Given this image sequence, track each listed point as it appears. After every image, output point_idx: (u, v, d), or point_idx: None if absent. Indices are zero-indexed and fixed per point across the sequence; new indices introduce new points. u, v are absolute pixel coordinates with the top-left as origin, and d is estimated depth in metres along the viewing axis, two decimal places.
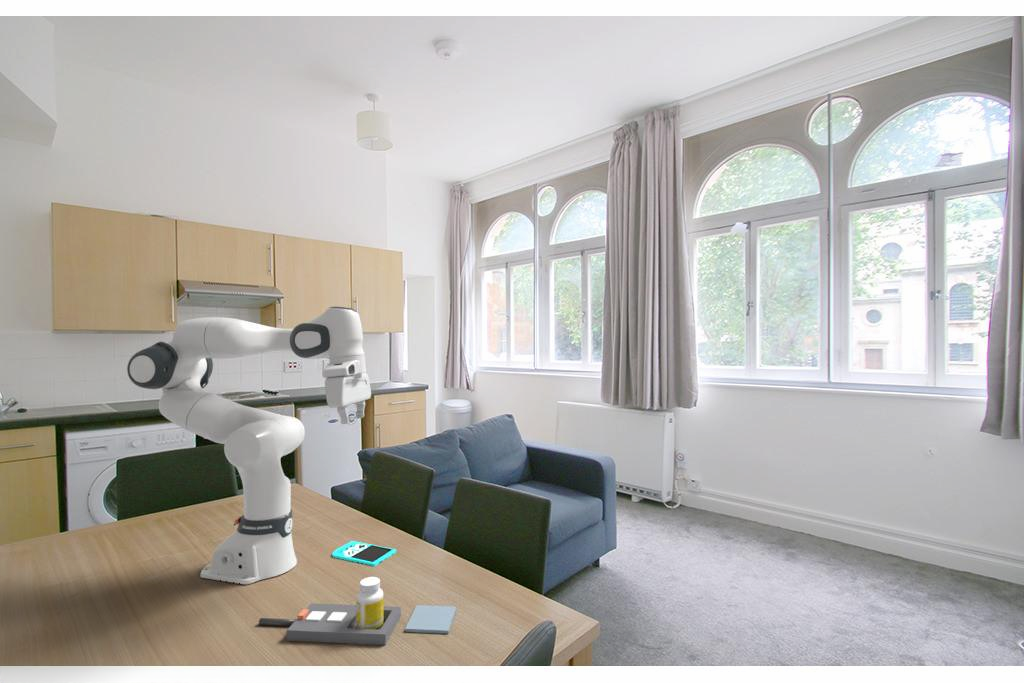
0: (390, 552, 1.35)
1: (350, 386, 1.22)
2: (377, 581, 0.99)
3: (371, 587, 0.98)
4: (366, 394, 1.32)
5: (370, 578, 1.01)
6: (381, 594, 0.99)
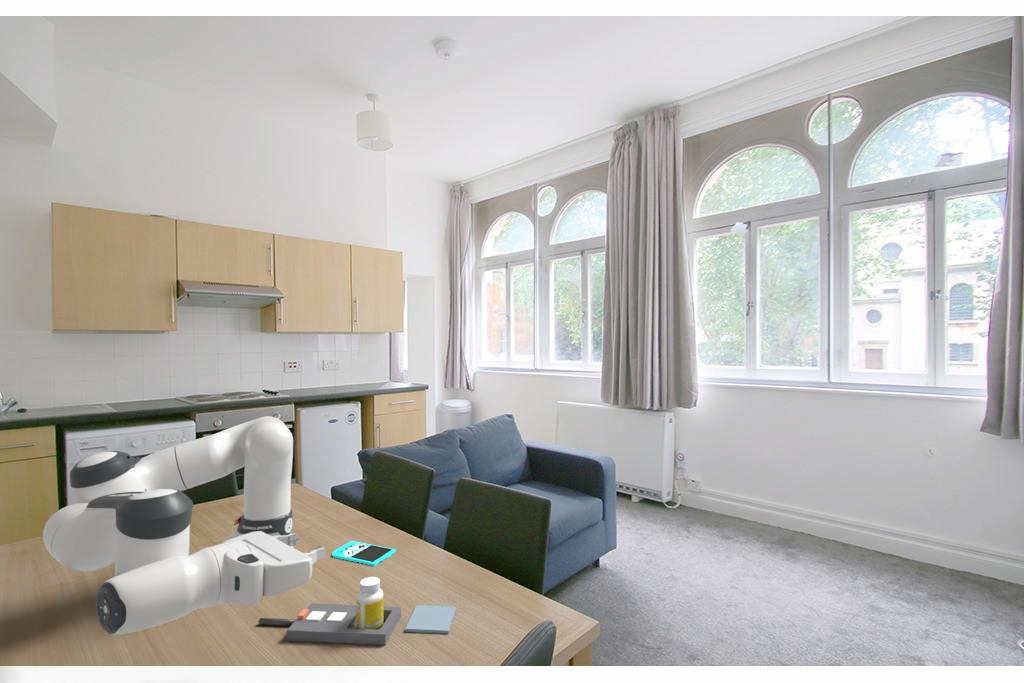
0: (390, 552, 1.35)
1: (269, 557, 0.80)
2: (377, 581, 0.99)
3: (371, 586, 0.98)
4: (261, 535, 0.89)
5: (370, 578, 1.01)
6: (381, 594, 0.99)
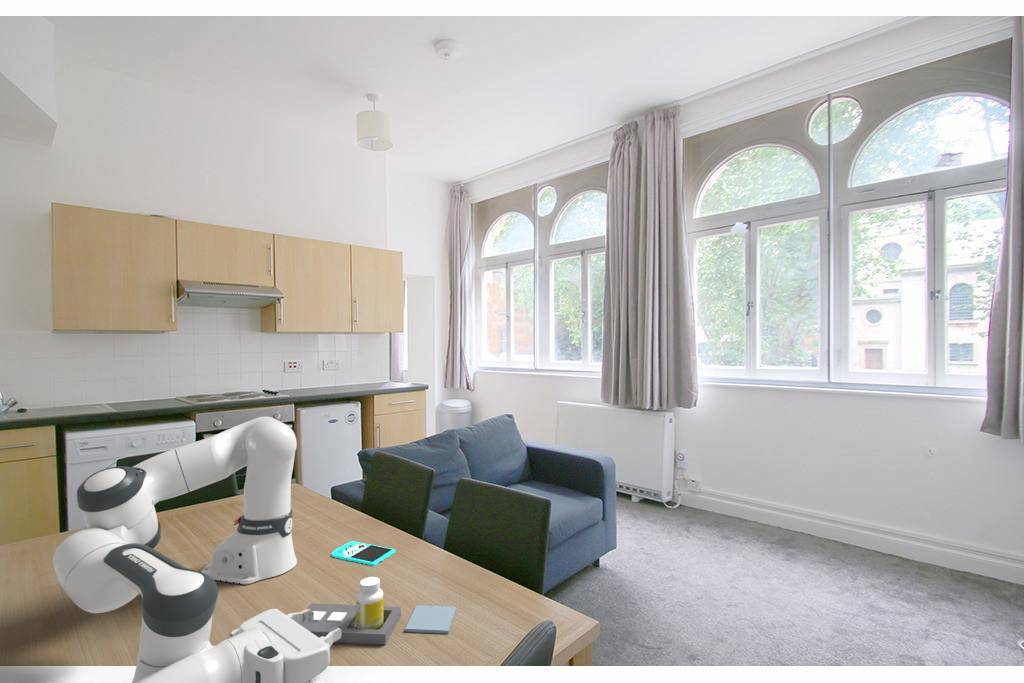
0: (389, 552, 1.35)
1: (287, 644, 0.82)
2: (377, 581, 0.99)
3: (371, 586, 0.98)
4: (277, 615, 0.91)
5: (370, 578, 1.01)
6: (381, 594, 0.99)
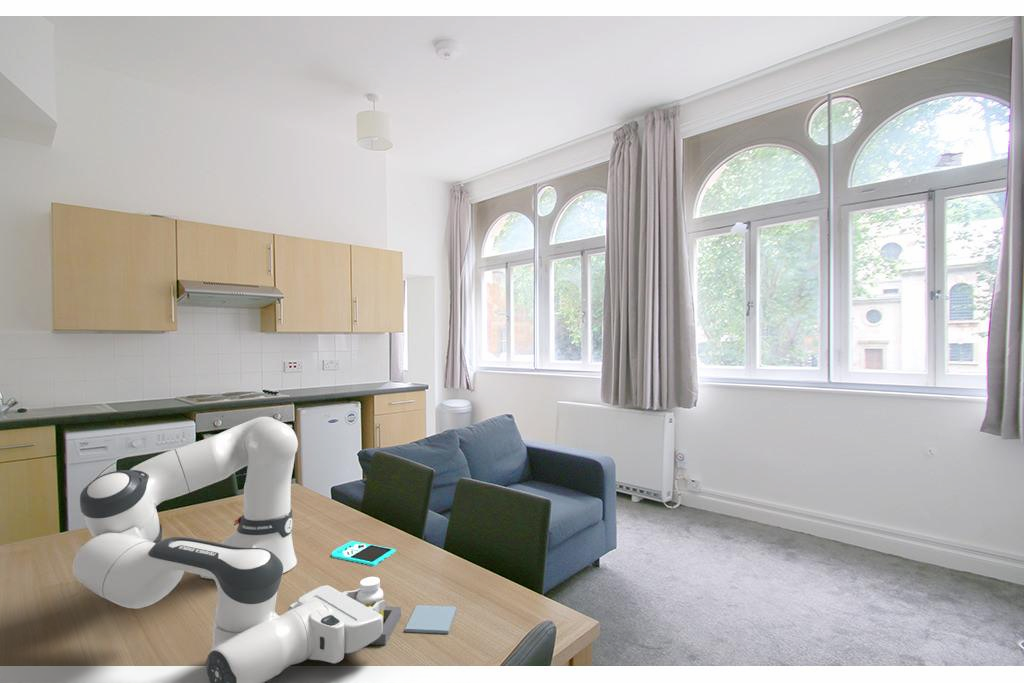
0: (389, 552, 1.35)
1: (344, 615, 0.91)
2: (377, 581, 0.99)
3: (371, 586, 0.98)
4: (330, 590, 0.99)
5: (370, 578, 1.01)
6: (381, 594, 0.99)
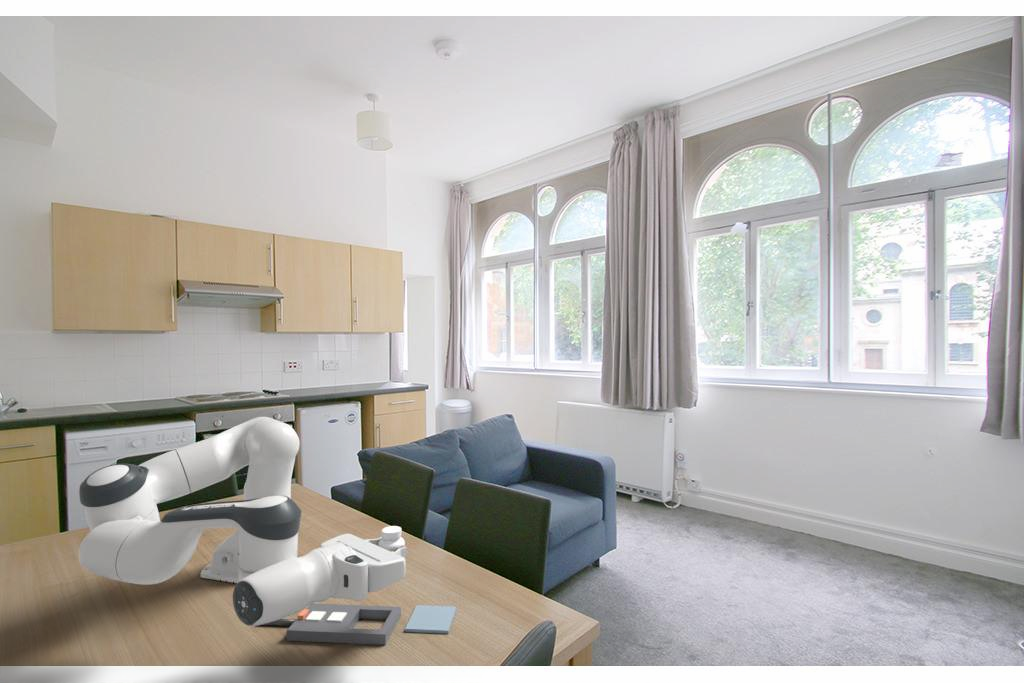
0: None
1: (367, 557, 0.91)
2: (399, 529, 0.99)
3: (392, 534, 0.98)
4: (352, 537, 1.00)
5: (391, 527, 1.01)
6: (403, 542, 0.99)
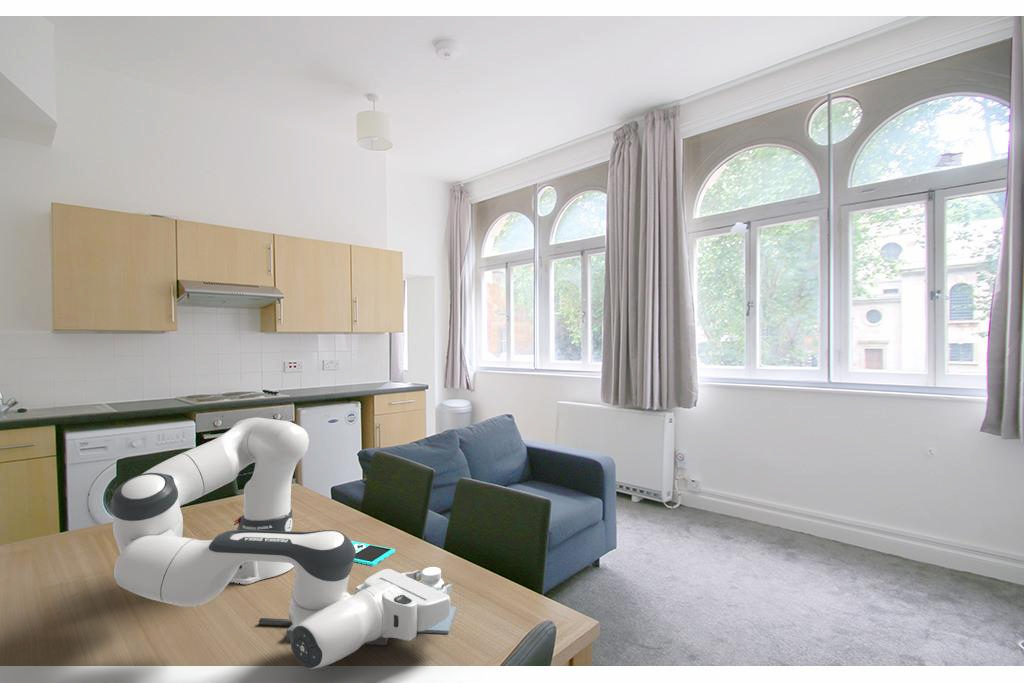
0: (388, 552, 1.35)
1: (412, 595, 0.94)
2: (438, 571, 1.02)
3: (433, 576, 1.01)
4: (393, 573, 1.02)
5: (431, 568, 1.04)
6: (442, 583, 1.02)
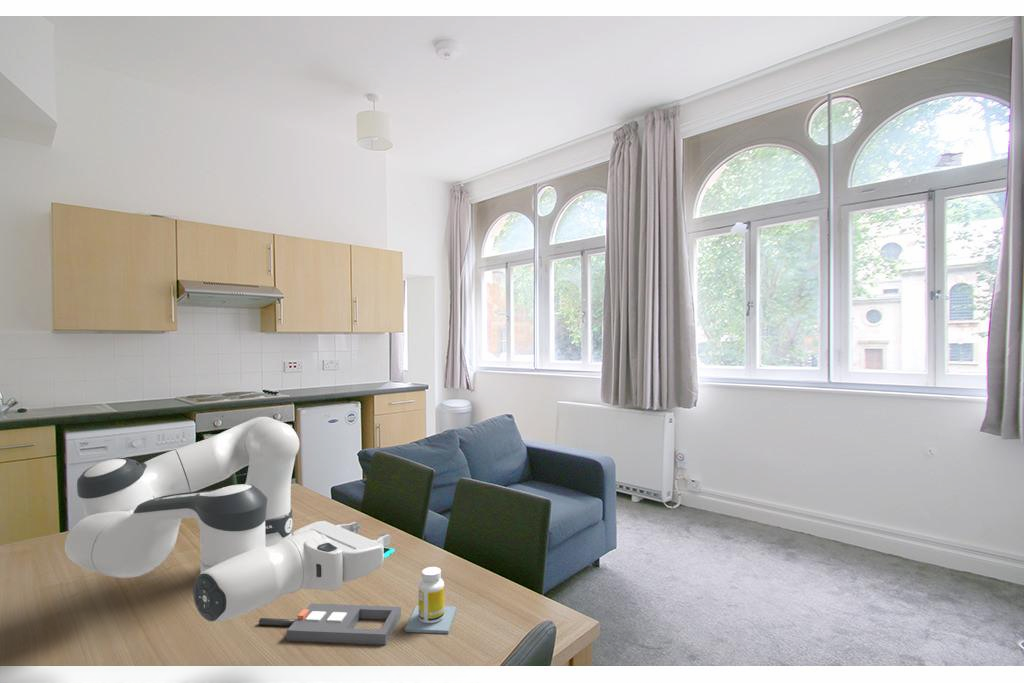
0: (388, 552, 1.35)
1: (342, 545, 0.85)
2: (438, 571, 1.03)
3: (433, 576, 1.01)
4: (326, 525, 0.94)
5: (431, 568, 1.04)
6: (442, 583, 1.02)
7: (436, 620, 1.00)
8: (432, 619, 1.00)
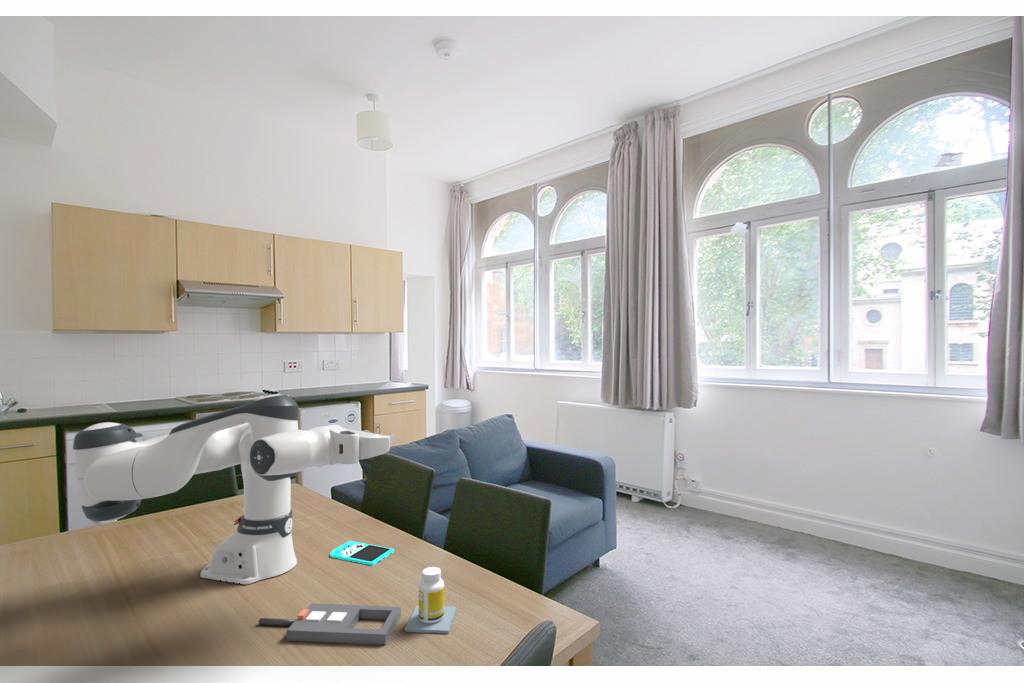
0: (388, 552, 1.35)
1: None
2: (438, 571, 1.03)
3: (433, 576, 1.01)
4: (345, 429, 1.19)
5: (431, 568, 1.04)
6: (442, 583, 1.02)
7: (436, 620, 1.00)
8: (432, 619, 1.00)
